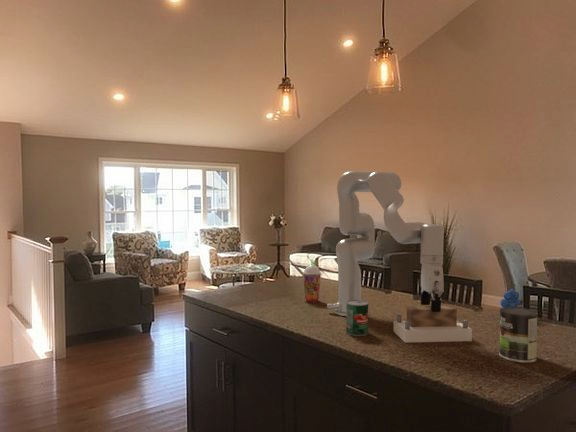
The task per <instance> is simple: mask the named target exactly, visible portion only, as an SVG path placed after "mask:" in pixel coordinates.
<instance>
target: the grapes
mask: <svg viewBox="0 0 576 432" xmlns="http://www.w3.org/2000/svg"><path fill="white" fill-rule="evenodd" d="M502 295H503V298H502V299H501V300H500V301H499V304H500V306H501V307H500V308H499V311H500V309H501V308H505V307H517V308H518V306H520V305H521V300H520V299H519V297H520V293H519V291H516V290H515V289H513V288H510V289H509V290H508V291H505V292H504V293H503V294H502Z"/></svg>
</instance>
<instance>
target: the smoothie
mask: <svg viewBox="0 0 576 432" xmlns="http://www.w3.org/2000/svg"><path fill="white" fill-rule="evenodd" d="M310 263H311V264H310V265H307V266H306V267H305V269H304V271H303V273H302V274H303V285H304V286H303V287H304V288H303V289H304V299H305V302H307V303H318V302H319V299H320V290H321V288H320V287H321V274H322V272H321V271H320V268H319V267H318V266H316V265H315V264H313V263H314V259H313V258H311V261H310Z"/></svg>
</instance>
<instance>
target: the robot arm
mask: <svg viewBox="0 0 576 432" xmlns="http://www.w3.org/2000/svg"><path fill="white" fill-rule="evenodd" d="M401 187H402V180H401V178H400V176H399V175H398V174H397V173H395V172H393V171H392V172H391V171H375V172H374V171H360V170H350V171H347V172H344V173H342V174H341V175H340V177H339V179H338V181H337V185H336V191H337V192H336V193H337V198H338V224H339V225H338V227H339V231H340V233H341V234H342V235H344V236H356V237H352V238H343V239H341V240H339V241H338V242H337V244H336V246H335V254H336V259H337V274H338V275H337V278H338V279H337V280H338V282H337V284H338V285H337V289H338V290H337V292H338V293H337V294H338V295H337V297H338V299H337V301H336V302H334V303H327V304H326V309H331V310H334V314H335V315H337V316H343V317H346V302H347V301H351V300H361V301H362V272H361V267H360V265H359V262H358V261H364V260H365V261H367V260H369V259H371V258H373V255H374V253H375V249H376V247H375V242H376V241H375V237H376V236H375V235H376V234H375V232H376V231H375V223H374V222H375V221H374V219H373V217H372V216H371V215H370V214H369V213H367V212H360V201H359V198H358V196H357V195H356V192H357V193H371V194H373V196H374V198H375V199H376V201H378V204H380V206H381V207H382V210H383V221H384V225H385V228H386V229H387V231H388V232H389V234H390V235H391V236H392V238H393V239H394V240H395V241H396V242H397V243H398V244H402V245H408V244H409V245H411V244H420V257H419V259H420V260H419V261H420V263H419V264H421V271H420V289H421V290H420V304H421V305H420V306H431V311H432V312H440V311H441V306H442V297H443V293H444V289H445V288H444V287H445V285H444V269H443V265H444V234H445V231H444V229H445V228H444V226H443V225H441V224H437V223H435V224H434V223H433V224H432V223H424V222H421V221H420V222H419V221H418V222H405V221H404V220H403V217H401V215H400V214H399V212H398V210H399V209H400V208H401V207H402V206H403V203H404V197H403V194H401V192H400V189H401Z"/></svg>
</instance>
